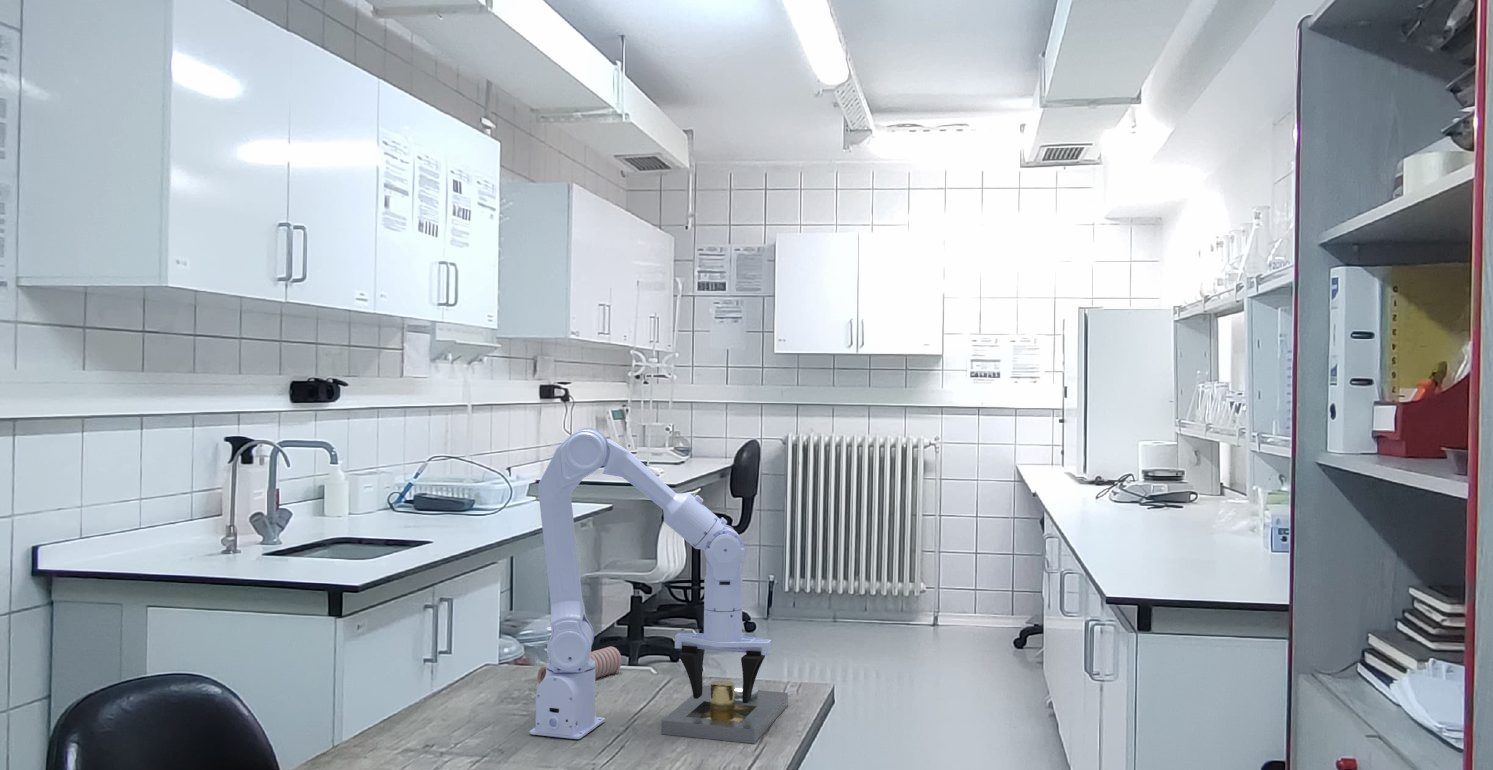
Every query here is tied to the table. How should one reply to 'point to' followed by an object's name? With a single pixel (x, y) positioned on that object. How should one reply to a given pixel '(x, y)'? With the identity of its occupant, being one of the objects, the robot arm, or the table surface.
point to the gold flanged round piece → (722, 702)
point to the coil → (597, 663)
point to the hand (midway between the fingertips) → (722, 699)
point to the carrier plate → (756, 721)
